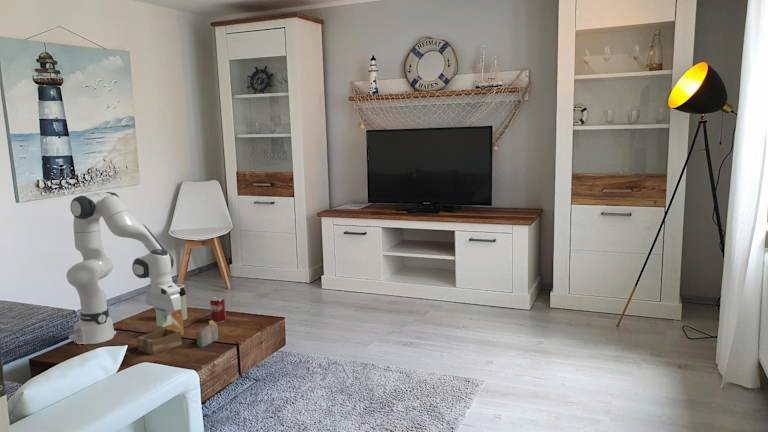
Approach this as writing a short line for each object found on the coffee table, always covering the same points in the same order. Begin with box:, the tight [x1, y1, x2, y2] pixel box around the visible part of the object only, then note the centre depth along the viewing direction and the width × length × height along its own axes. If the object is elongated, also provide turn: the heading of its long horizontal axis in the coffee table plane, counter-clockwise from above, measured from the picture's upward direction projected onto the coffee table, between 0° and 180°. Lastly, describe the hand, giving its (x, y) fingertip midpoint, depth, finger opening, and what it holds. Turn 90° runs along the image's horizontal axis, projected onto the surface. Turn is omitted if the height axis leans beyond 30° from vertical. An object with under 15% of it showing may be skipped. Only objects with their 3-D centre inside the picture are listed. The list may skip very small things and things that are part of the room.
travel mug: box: [175, 283, 188, 322], centre depth 305 cm, size 8×8×18 cm
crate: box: [136, 327, 183, 356], centre depth 268 cm, size 11×15×6 cm
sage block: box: [155, 308, 172, 328], centre depth 256 cm, size 4×4×7 cm
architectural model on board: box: [195, 319, 219, 348], centre depth 272 cm, size 11×3×10 cm, turn 157°
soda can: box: [209, 296, 227, 324], centre depth 302 cm, size 7×7×12 cm
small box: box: [162, 308, 185, 336], centre depth 283 cm, size 8×6×13 cm
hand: (163, 317), depth 256 cm, fingers closed on sage block, 4 cm apart
